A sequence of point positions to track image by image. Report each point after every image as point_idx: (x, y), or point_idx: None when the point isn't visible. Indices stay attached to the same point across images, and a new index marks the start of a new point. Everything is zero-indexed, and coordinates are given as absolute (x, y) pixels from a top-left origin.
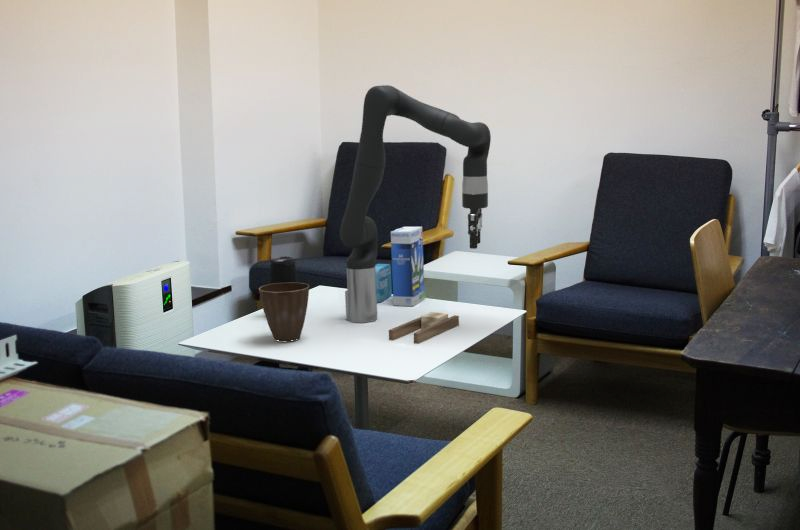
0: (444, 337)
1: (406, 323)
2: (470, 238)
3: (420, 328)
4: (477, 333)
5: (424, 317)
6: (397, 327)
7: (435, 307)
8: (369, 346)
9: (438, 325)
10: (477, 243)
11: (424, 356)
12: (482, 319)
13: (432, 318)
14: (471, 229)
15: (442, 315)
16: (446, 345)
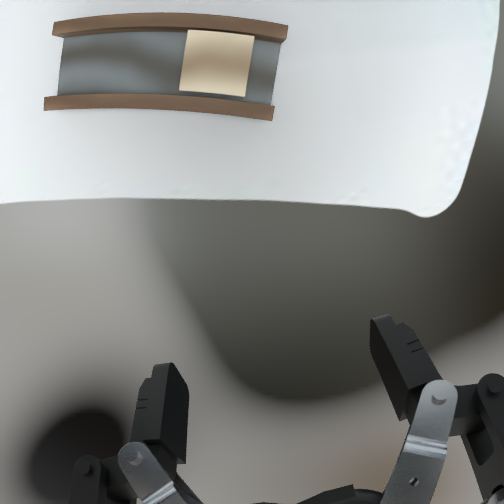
0: (149, 124)
1: (131, 17)
2: (147, 425)
3: None
4: (217, 189)
5: (187, 41)
6: (82, 23)
7: (449, 15)
8: (30, 15)
9: (144, 108)
10: (370, 338)
11: (7, 166)
12: (365, 154)
13: (182, 69)
14: (180, 489)
15: (215, 88)
16: (86, 165)
